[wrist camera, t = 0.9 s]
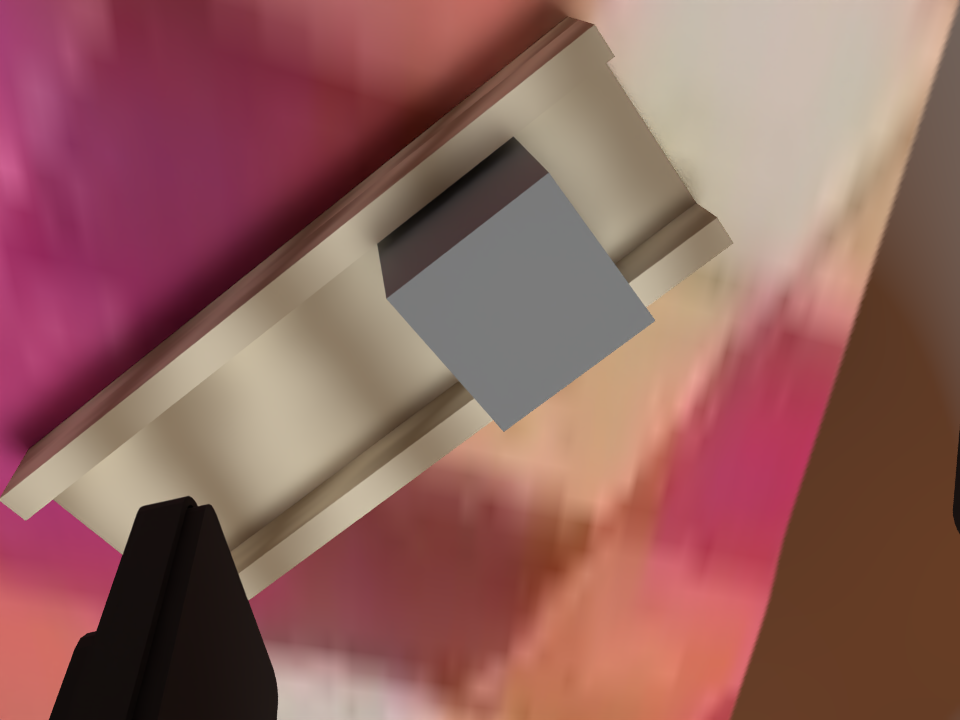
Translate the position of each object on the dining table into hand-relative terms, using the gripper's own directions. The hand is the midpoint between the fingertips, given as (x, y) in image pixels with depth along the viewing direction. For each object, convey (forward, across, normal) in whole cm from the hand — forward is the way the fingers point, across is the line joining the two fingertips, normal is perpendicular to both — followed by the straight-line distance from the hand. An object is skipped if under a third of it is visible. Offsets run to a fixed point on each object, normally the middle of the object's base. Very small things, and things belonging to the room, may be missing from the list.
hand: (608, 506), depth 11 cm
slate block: (+22, -1, +4) cm, 23 cm away
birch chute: (+24, +4, +7) cm, 25 cm away
